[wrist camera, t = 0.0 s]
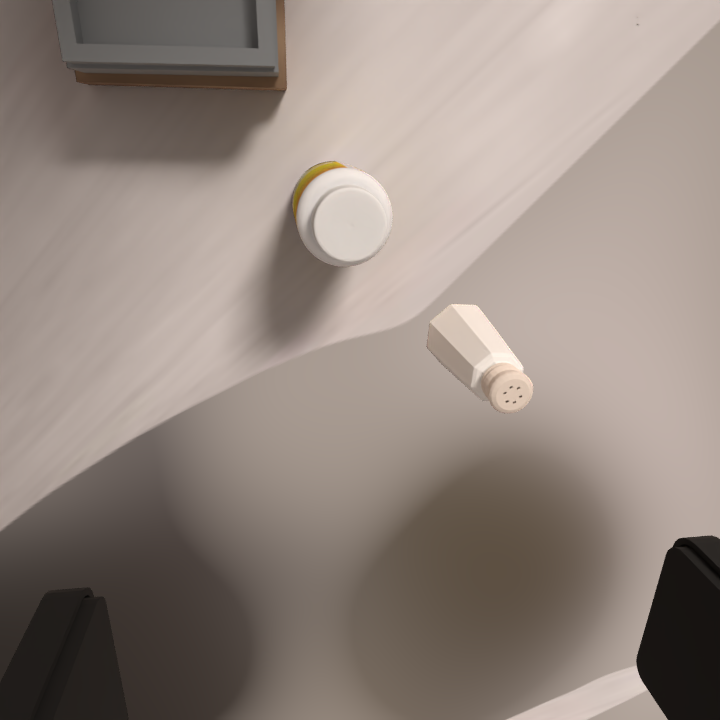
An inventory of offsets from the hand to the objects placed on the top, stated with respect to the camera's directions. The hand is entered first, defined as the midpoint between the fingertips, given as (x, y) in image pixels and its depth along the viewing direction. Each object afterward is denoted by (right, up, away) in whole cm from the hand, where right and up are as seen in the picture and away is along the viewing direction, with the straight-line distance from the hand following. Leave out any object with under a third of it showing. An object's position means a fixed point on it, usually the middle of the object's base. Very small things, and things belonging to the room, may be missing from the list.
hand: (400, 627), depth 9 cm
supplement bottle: (-3, +15, +30) cm, 34 cm away
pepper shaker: (+7, +6, +35) cm, 36 cm away
